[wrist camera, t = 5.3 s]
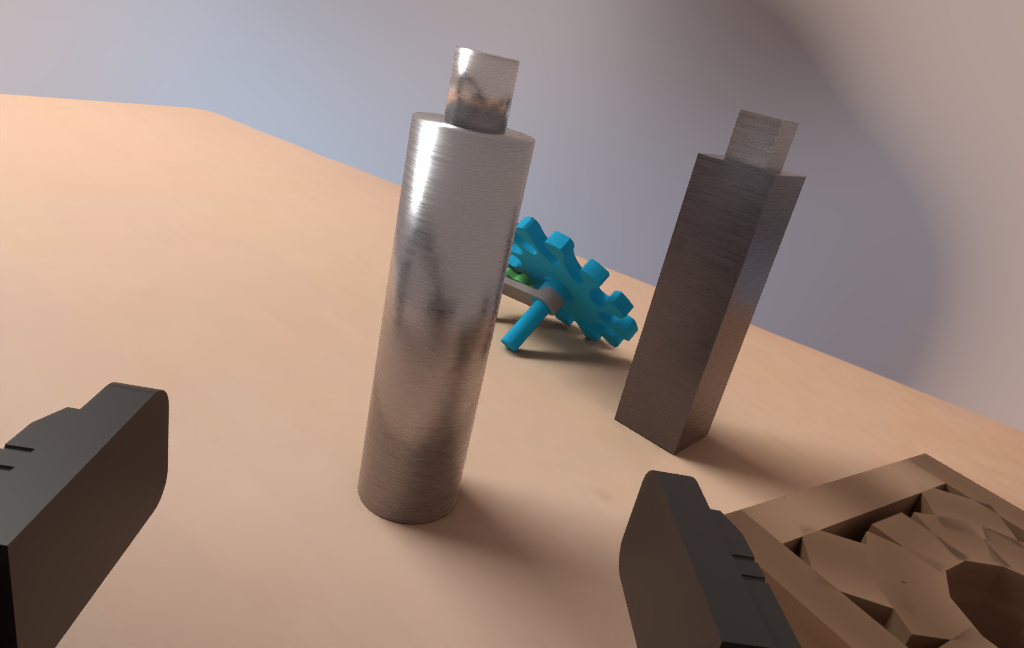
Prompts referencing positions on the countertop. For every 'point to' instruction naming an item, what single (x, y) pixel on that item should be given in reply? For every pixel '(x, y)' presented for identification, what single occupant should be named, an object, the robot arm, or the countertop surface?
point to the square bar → (711, 283)
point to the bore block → (894, 560)
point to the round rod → (443, 291)
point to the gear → (561, 289)
